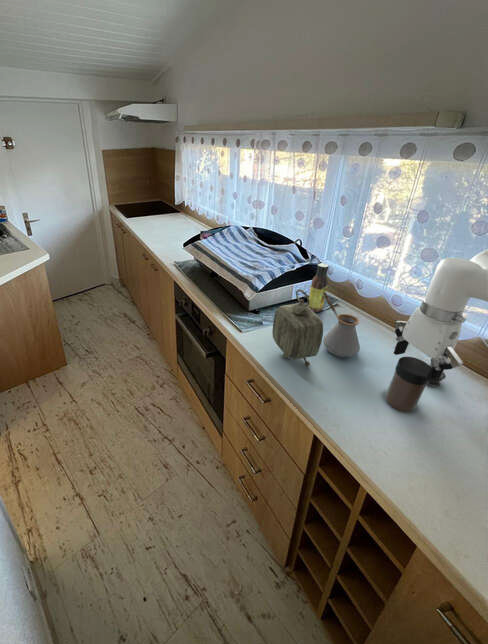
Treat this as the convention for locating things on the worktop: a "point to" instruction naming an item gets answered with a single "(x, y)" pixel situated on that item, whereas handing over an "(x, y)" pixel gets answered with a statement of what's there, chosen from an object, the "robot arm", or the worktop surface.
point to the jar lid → (413, 370)
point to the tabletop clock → (297, 330)
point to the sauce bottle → (318, 288)
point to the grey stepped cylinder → (436, 382)
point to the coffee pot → (342, 335)
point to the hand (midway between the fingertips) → (414, 365)
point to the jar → (403, 394)
